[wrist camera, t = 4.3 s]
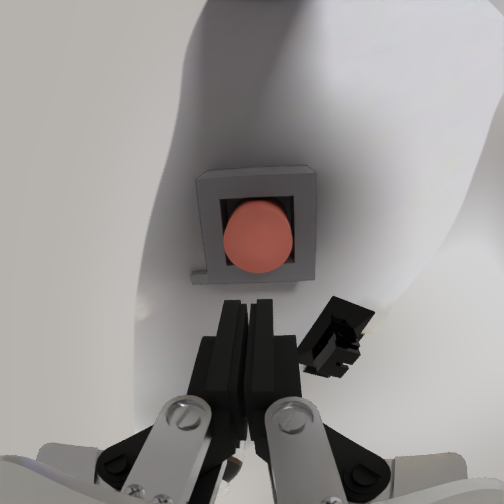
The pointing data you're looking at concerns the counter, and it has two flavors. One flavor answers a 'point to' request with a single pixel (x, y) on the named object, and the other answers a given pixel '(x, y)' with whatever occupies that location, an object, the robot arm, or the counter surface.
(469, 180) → the counter surface
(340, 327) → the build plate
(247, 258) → the plunger
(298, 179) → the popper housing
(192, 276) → the strip
